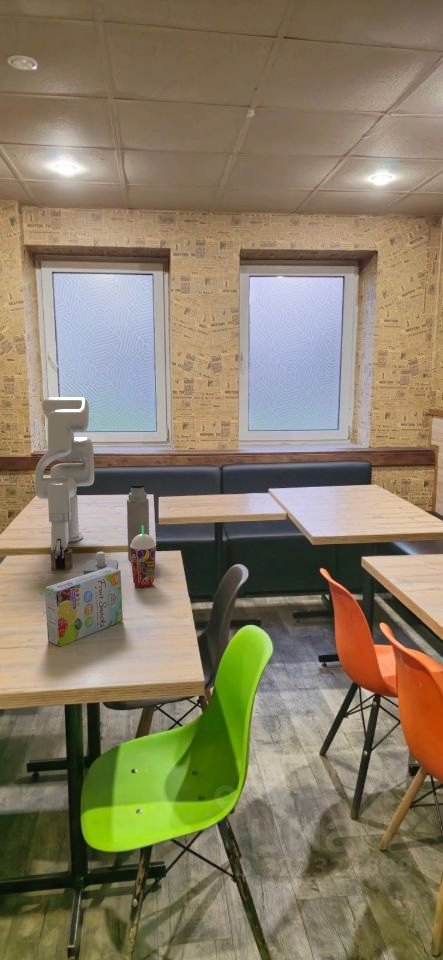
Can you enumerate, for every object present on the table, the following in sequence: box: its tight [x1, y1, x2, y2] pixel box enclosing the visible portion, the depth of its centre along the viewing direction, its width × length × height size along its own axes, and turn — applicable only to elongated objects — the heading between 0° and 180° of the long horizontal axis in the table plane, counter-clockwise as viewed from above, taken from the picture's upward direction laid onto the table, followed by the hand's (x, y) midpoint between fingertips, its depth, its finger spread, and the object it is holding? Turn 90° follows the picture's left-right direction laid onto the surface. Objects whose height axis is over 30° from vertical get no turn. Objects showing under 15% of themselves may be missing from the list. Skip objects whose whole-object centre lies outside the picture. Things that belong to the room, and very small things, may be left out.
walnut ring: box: [50, 547, 74, 571], centre depth 214 cm, size 7×7×6 cm
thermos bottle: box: [126, 483, 150, 561], centre depth 223 cm, size 8×8×28 cm
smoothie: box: [130, 526, 157, 589], centre depth 195 cm, size 8×8×20 cm
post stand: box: [83, 551, 119, 575], centre depth 212 cm, size 11×11×6 cm
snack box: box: [44, 567, 124, 648], centre depth 161 cm, size 21×6×15 cm, turn 141°
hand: (62, 565), depth 215 cm, fingers closed on walnut ring, 7 cm apart
